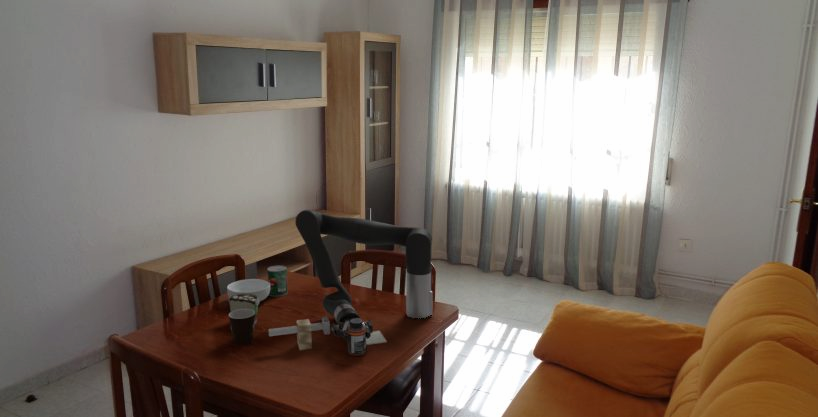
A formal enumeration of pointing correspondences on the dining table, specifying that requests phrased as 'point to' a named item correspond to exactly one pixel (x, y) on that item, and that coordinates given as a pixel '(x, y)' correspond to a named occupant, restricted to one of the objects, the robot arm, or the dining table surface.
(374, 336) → the mat
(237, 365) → the dining table surface
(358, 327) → the supplement bottle
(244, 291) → the cereal bowl
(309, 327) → the keeper
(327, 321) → the t bolt
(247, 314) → the coffee mug
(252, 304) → the food container
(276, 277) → the canned tomato
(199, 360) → the dining table surface
